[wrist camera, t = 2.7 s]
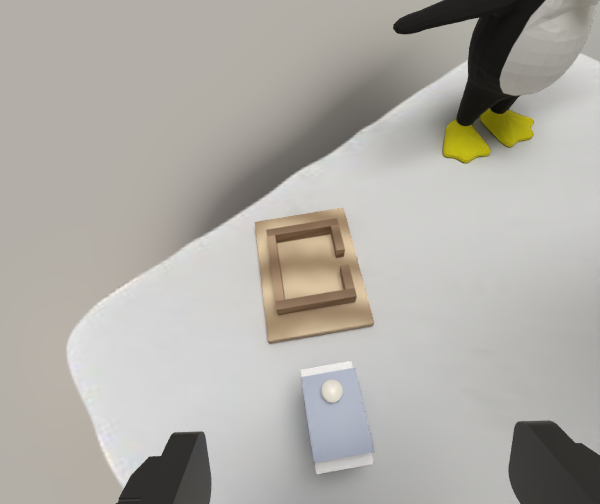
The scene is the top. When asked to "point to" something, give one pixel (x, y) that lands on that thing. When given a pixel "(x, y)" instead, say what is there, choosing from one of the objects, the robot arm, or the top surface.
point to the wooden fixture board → (310, 276)
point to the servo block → (336, 418)
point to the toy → (506, 61)
